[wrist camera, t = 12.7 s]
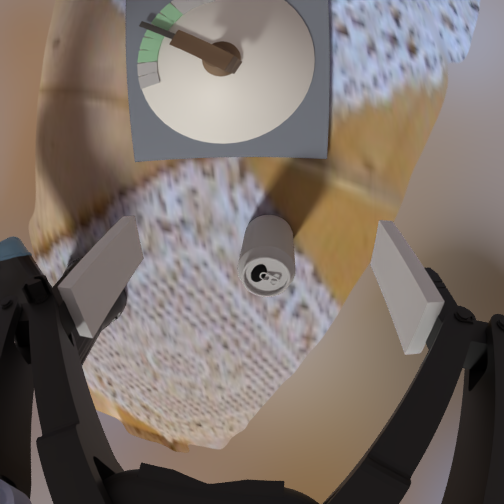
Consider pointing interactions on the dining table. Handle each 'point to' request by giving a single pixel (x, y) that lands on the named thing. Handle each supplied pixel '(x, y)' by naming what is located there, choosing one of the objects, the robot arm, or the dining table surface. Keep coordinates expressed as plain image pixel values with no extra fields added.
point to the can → (267, 256)
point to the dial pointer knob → (203, 50)
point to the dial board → (229, 80)
